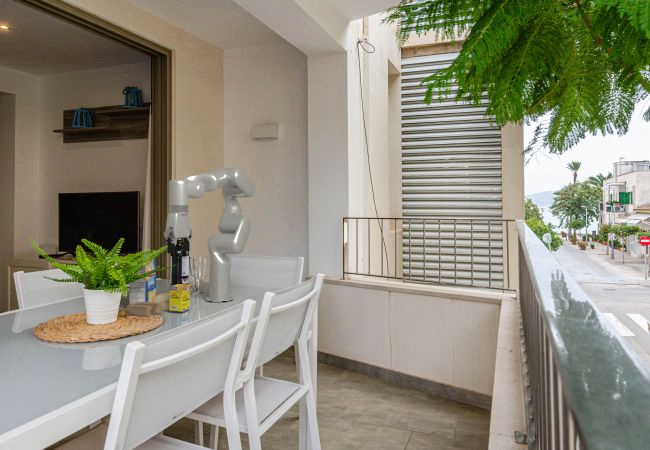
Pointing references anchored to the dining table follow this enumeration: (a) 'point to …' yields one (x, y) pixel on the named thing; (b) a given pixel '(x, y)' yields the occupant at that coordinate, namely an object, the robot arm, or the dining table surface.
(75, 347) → the dining table surface
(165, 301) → the oak cube
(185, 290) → the supplement box
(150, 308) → the walnut block
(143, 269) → the beverage box
